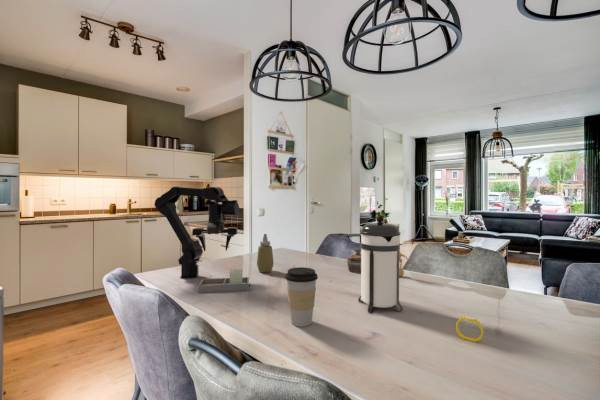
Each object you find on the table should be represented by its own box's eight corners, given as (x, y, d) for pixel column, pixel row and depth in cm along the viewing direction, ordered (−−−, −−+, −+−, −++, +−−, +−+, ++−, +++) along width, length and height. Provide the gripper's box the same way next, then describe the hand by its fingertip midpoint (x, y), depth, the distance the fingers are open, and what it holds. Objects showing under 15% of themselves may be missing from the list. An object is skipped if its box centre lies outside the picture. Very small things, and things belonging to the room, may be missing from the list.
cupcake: (344, 268, 150) (344, 248, 149) (363, 268, 151) (363, 248, 150) (350, 273, 140) (350, 252, 140) (370, 273, 141) (370, 252, 141)
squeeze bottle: (272, 273, 140) (272, 235, 140) (255, 273, 140) (255, 235, 140) (274, 269, 148) (274, 232, 148) (258, 269, 148) (258, 232, 148)
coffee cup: (307, 332, 80) (307, 276, 80) (278, 324, 85) (278, 271, 85) (323, 320, 88) (323, 269, 88) (296, 313, 93) (296, 265, 93)
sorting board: (198, 292, 113) (198, 285, 113) (202, 285, 123) (202, 278, 122) (247, 290, 116) (247, 283, 116) (248, 283, 125) (248, 277, 125)
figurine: (409, 276, 136) (409, 249, 135) (408, 279, 130) (408, 252, 130) (389, 274, 139) (390, 248, 139) (388, 277, 133) (388, 250, 133)
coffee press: (412, 305, 101) (413, 215, 100) (390, 319, 89) (390, 218, 88) (366, 293, 112) (367, 213, 112) (341, 304, 101) (342, 215, 100)
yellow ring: (482, 341, 76) (485, 318, 76) (481, 346, 74) (483, 322, 74) (456, 333, 80) (458, 311, 79) (454, 337, 78) (456, 315, 77)
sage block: (229, 287, 117) (229, 272, 117) (231, 284, 122) (230, 269, 122) (241, 287, 118) (241, 271, 118) (242, 283, 122) (242, 269, 122)
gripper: (189, 217, 123) (189, 255, 124) (235, 216, 126) (235, 253, 126) (194, 215, 134) (195, 250, 135) (237, 214, 137) (237, 248, 137)
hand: (215, 250), depth 133 cm, fingers open, 9 cm apart
